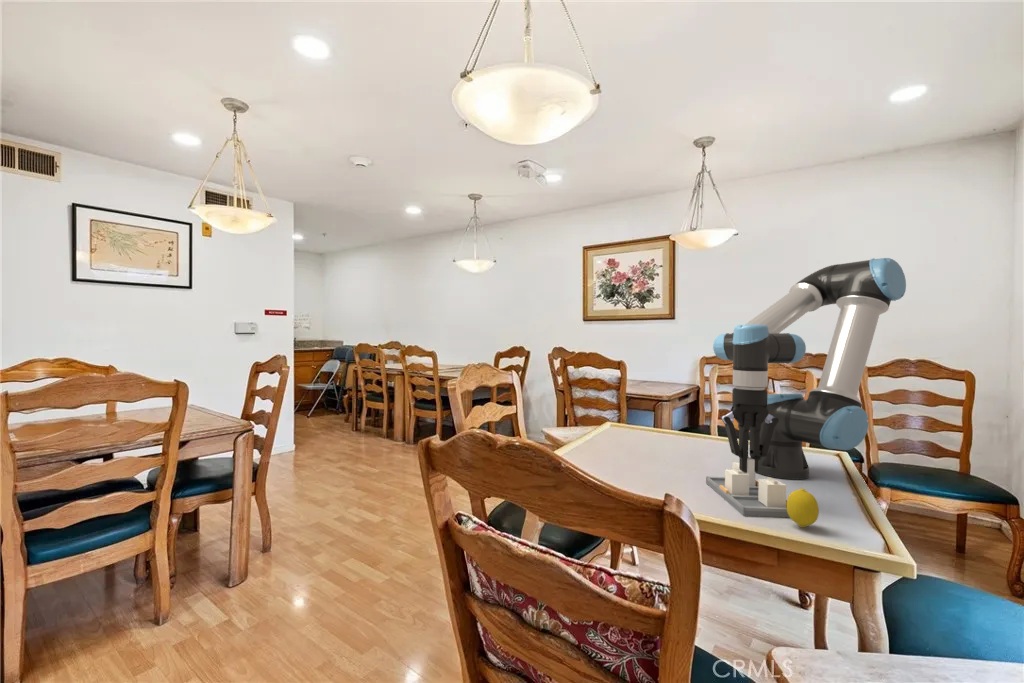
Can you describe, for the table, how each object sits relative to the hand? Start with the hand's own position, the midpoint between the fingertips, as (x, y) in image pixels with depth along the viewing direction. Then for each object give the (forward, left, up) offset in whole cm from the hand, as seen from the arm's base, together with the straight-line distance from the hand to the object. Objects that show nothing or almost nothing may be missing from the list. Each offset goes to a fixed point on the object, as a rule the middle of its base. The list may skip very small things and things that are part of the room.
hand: (748, 484), depth 106 cm
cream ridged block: (+3, 0, -2) cm, 3 cm away
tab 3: (-2, +7, -2) cm, 8 cm away
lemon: (-3, +16, -4) cm, 17 cm away
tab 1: (-2, -7, -2) cm, 8 cm away
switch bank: (+1, 0, -3) cm, 3 cm away
